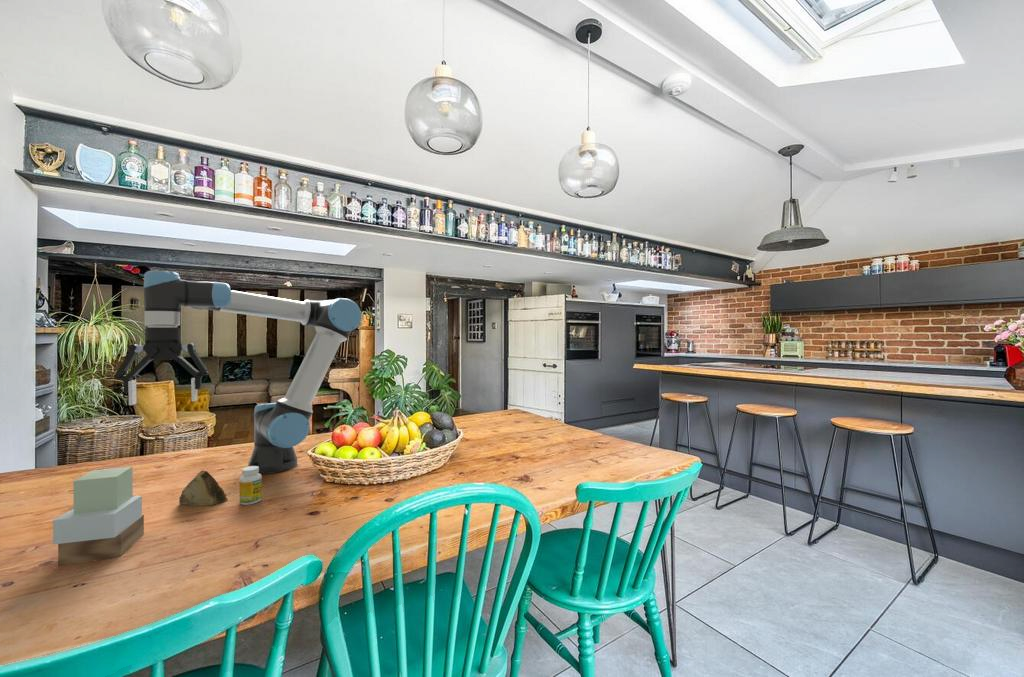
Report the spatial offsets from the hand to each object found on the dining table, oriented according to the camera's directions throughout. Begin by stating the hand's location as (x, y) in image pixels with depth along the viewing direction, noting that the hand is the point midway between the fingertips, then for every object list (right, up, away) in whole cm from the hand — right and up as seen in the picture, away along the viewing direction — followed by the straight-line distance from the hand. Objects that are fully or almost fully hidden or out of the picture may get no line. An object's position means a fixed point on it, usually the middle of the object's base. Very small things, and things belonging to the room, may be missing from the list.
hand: (164, 402), depth 113 cm
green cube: (+7, -19, -24) cm, 31 cm away
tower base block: (+7, -29, -24) cm, 38 cm away
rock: (+10, -29, +1) cm, 30 cm away
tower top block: (+7, -24, -25) cm, 35 cm away
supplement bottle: (+23, -29, +2) cm, 37 cm away
